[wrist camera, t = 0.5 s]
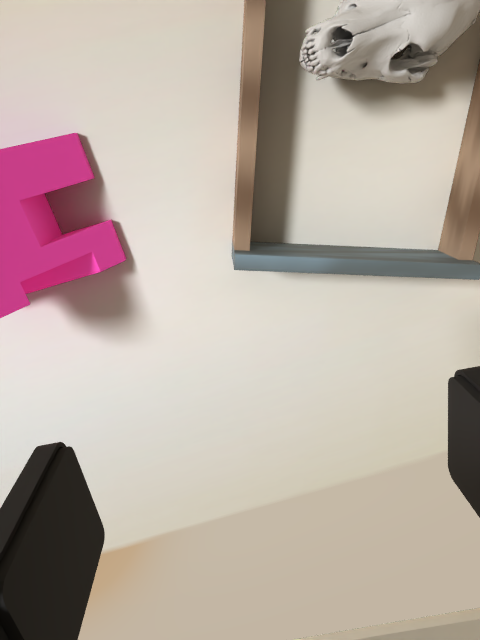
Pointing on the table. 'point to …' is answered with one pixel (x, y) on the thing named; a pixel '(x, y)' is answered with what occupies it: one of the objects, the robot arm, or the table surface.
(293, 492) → the table surface
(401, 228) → the table surface
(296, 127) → the table surface
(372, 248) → the bay
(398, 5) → the skull
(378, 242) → the table surface
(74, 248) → the bracket
